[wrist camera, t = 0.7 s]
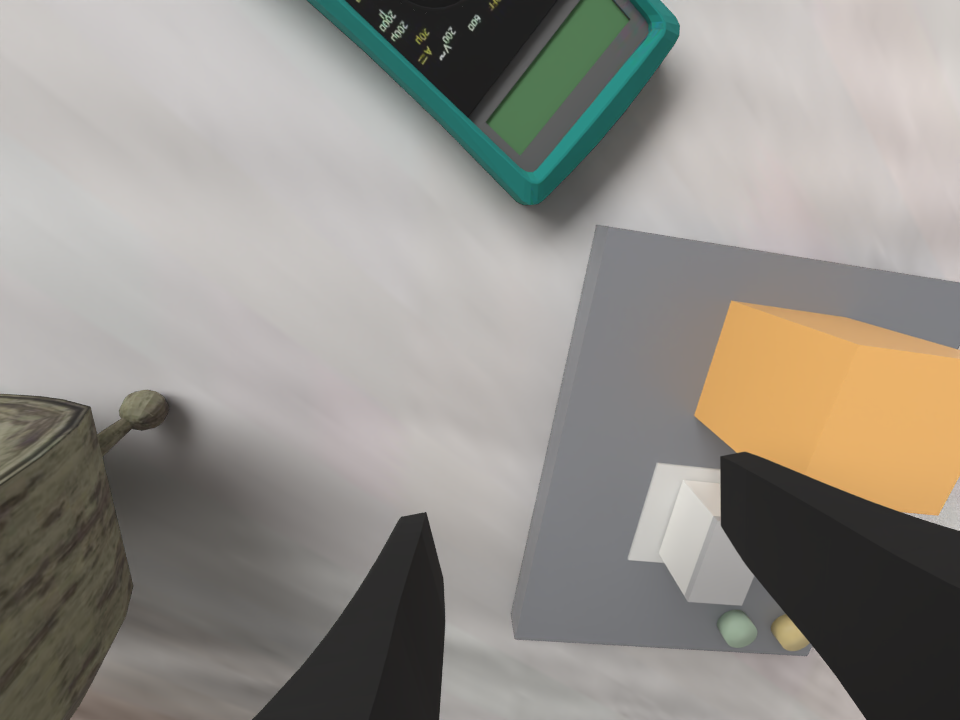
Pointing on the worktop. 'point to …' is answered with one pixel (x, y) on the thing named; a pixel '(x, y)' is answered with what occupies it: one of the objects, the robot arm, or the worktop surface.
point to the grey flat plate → (670, 433)
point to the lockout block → (838, 403)
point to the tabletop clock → (59, 550)
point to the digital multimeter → (516, 73)
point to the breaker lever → (703, 548)
